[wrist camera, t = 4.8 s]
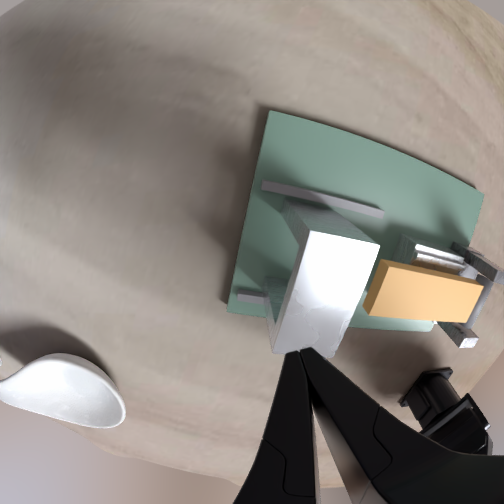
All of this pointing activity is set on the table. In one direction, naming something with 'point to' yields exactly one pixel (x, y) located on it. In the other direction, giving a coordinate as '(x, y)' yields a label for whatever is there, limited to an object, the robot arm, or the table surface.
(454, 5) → the table surface
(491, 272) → the mount
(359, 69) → the table surface
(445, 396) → the robot arm
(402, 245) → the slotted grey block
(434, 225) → the board
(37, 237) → the table surface
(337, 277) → the plate
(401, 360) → the table surface
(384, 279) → the orange flat plank
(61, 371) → the spoon rest
